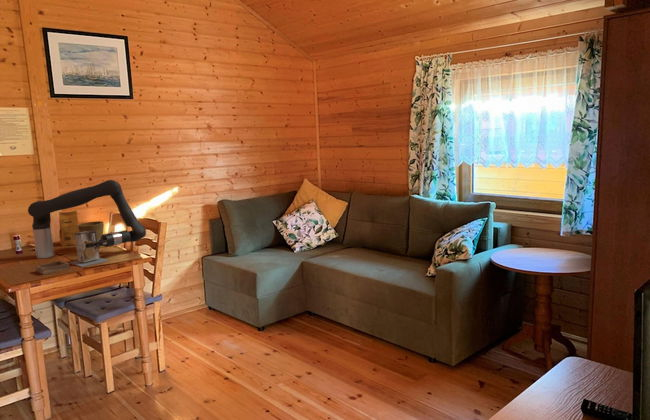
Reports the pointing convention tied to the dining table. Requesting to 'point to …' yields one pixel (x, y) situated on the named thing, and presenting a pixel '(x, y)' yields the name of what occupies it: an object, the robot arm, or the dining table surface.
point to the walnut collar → (52, 267)
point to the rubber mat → (82, 264)
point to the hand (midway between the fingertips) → (82, 245)
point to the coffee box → (82, 251)
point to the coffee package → (68, 227)
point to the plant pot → (92, 228)
